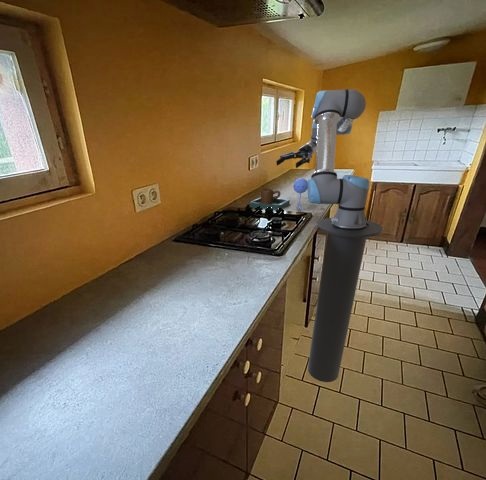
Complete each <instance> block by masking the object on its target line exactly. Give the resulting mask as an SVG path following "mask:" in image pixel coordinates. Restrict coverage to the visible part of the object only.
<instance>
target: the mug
mask: <svg viewBox="0 0 486 480" xmlns="http://www.w3.org/2000/svg"><path fill="white" fill-rule="evenodd" d="M275 194H277V195H275ZM280 197H281V191H280V190H276V189H275V190H274V189H272V188H262V189H261V190H260V198H261V203H265V204H273V200H274V199H280Z"/></svg>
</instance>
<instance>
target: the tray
mask: <svg viewBox="0 0 486 480" xmlns="http://www.w3.org/2000/svg"><path fill="white" fill-rule="evenodd" d="M290 203H291V199H288V198H277V199H274V200H273V204H265V203H261V197H258V198H256V199H254V200H251V201H249V208H254V209H255V208H256V209H258V208H257V207H259V206H260V208H259V209H265V210H268V209H267V207H272V209H273V210H272V211H279V210H278V208H282V209H285V208H286V207H288V206H289V205H290Z"/></svg>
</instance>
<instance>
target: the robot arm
mask: <svg viewBox="0 0 486 480" xmlns="http://www.w3.org/2000/svg"><path fill="white" fill-rule="evenodd" d="M314 100H315V101H314V104H313V108H312V113H311V118H312V119H313V121H312V126H311V133H310V141H308V142H307V143H305V144H304V145H302V146H301V147H299V149H298V150H297V151H295V150H291V151H289V152H287V153H284V154H281V155H279V159H277V160H275V162H276V166H279V165H281V164H282V163H284V162H285V161H287V160H292V159H293V160H296V159H299V160H298V161H297V162H295V168H296V169H298V168H299V167H301V166H302V165H305V164H310V162H311V159H312V158H313V155H314V154H315V164H314V172H313V173H312V174H311V176H310V178H308V179H307V181H308V187H307V190H306V191H307V199H308V202H309V203H310V204H316V205H338V206H337V210H336V212H335V214H334V216H333V217H330V218H331V221H332V226H334V227H336V228H340V229H345V230H360V229H364V228H365V227H366V225H367V226H369V224H367V223H366V220H367V219H366V213H365V210H366V206H367V205H366V204H367V199H368V194H369V190H370V180H369V179H368V178H366V177H363V176H360V175H351V174H343V175H342V178H338V173H337V172H336V171H335V160H336V159H335V158H336V143H337V135H338V136H339V135H341V136H342V135H343V136H345V135H349V134H350V133H351V132H352V127H353V123H354V122H355V120H356V119H359V118H360V117H361V116H362V114H363V113H364V112H365V110H366V107H367V101H366V97H365V96H364V94H363V93H361V92H360V91H359V90H357V89H353V88H347V89H332V90H328V89H326V90H320V91H317V93H316V96H315V99H314Z"/></svg>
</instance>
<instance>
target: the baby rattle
mask: <svg viewBox="0 0 486 480" xmlns="http://www.w3.org/2000/svg"><path fill="white" fill-rule="evenodd" d="M307 187H308V179H305V178H303V177H300V178H297V179H296V180H295V181H294V183H293V185H292V188H293V190H294V191H295V193H296V194H299V198H298V199H299V200H298V204H297V206H296V209H297V210H300V211H301V210H302V204H301V199H302V198H301V196H302V194H304V193H306V192H307V191H308V190H307Z"/></svg>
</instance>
